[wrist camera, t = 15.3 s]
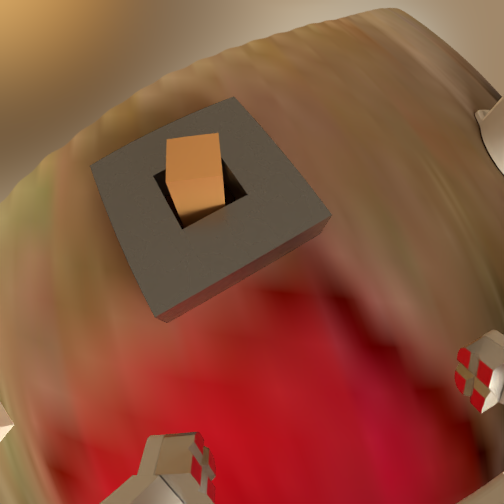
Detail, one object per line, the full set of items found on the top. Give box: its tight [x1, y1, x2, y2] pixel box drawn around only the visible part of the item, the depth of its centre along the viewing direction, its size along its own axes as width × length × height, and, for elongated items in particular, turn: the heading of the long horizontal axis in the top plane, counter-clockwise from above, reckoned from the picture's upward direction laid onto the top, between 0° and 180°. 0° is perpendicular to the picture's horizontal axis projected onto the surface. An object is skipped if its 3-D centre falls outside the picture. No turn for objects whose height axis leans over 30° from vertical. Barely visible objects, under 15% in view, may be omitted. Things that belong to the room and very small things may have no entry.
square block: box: [166, 133, 225, 228], centre depth 25 cm, size 4×4×8 cm
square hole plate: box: [90, 97, 332, 323], centre depth 27 cm, size 16×16×4 cm
